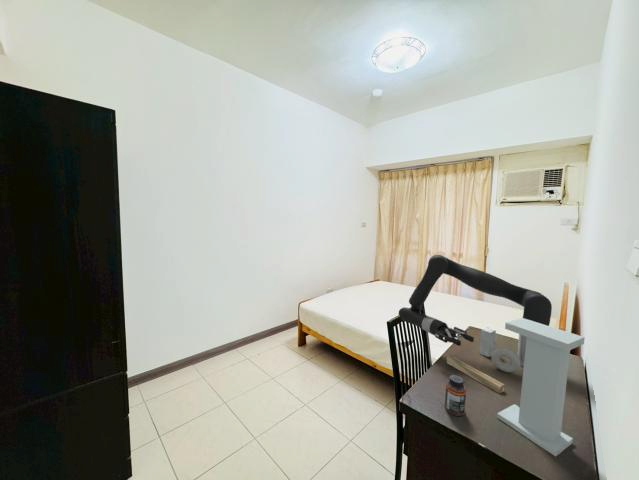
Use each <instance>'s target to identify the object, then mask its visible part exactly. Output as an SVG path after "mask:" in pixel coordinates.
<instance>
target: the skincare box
mask: <svg viewBox="0 0 639 480" xmlns="http://www.w3.org/2000/svg"><path fill="white" fill-rule="evenodd" d="M496 332H497V330H496V329H494V328H490V327H487V326H486V327H484V328H482V329H481V330H480V343H479V354H480V355H482V356H484V355H485V356H484V357H487V358H491V355H492V353H493V351H494V350H496V349H495V347H496V336H497V335H496Z"/></svg>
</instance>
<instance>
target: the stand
mask: <svg viewBox="0 0 639 480" xmlns="http://www.w3.org/2000/svg"><path fill="white" fill-rule="evenodd" d="M504 329H505V330H507V331H510V332H514V333H515V334H518V335H519V334H521V335H524V336H526V337H527V339H526V349H525V359H524V367H523V371H522V372H523V373H522V379H521V391H520V393H521V394H520V401H519V402H520V403H519V406H518V405H517V404H515V403H514V404H512V405H510V406H508V407H506V408H504V409H503V410H500V411H498V412H497V413H496V415H497V416H496V418H497V419H498V420H500V421H501V422H503V423H505V424H506V425H507V426H509V427H511V429H513V430H515V431H517V433H520V435H523V436H524V437H525V438H527V439H529V440H530V441H532V442H533V443H535V444H536V445H538V446H539V447H541V448H542V449H544V450H545V451H547V452H548V453H549V454H551V455H553V456H554V457H557V456H558V455H560V454H561V453H562V452H563V451H565V449H567V448H568V447H570V446H571V445H572V444H573V439H574V438H573V437H571V436H570V435H568V434H566V433H564V432H562V428H563V426H562V425H563V416H564V410H565V408H564V407H565V400H566V399H565V398H566V392H567V391H566V389H567V383H568V372H569V365H570V356H571V350H573V349H576V348H578V347H580V346H583V345H584V344H585V337H584V336H582V335H579V334H577V333H573V332H568V331H566V330H563V329H559V328H556V327H553V326H550V325H549V326H547V325H544V324H540V323H537V322H534V321H531V320H528V319H524V318H523V317H521V318H518V319H515V320H511V321H507V322H505V326H504Z"/></svg>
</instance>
